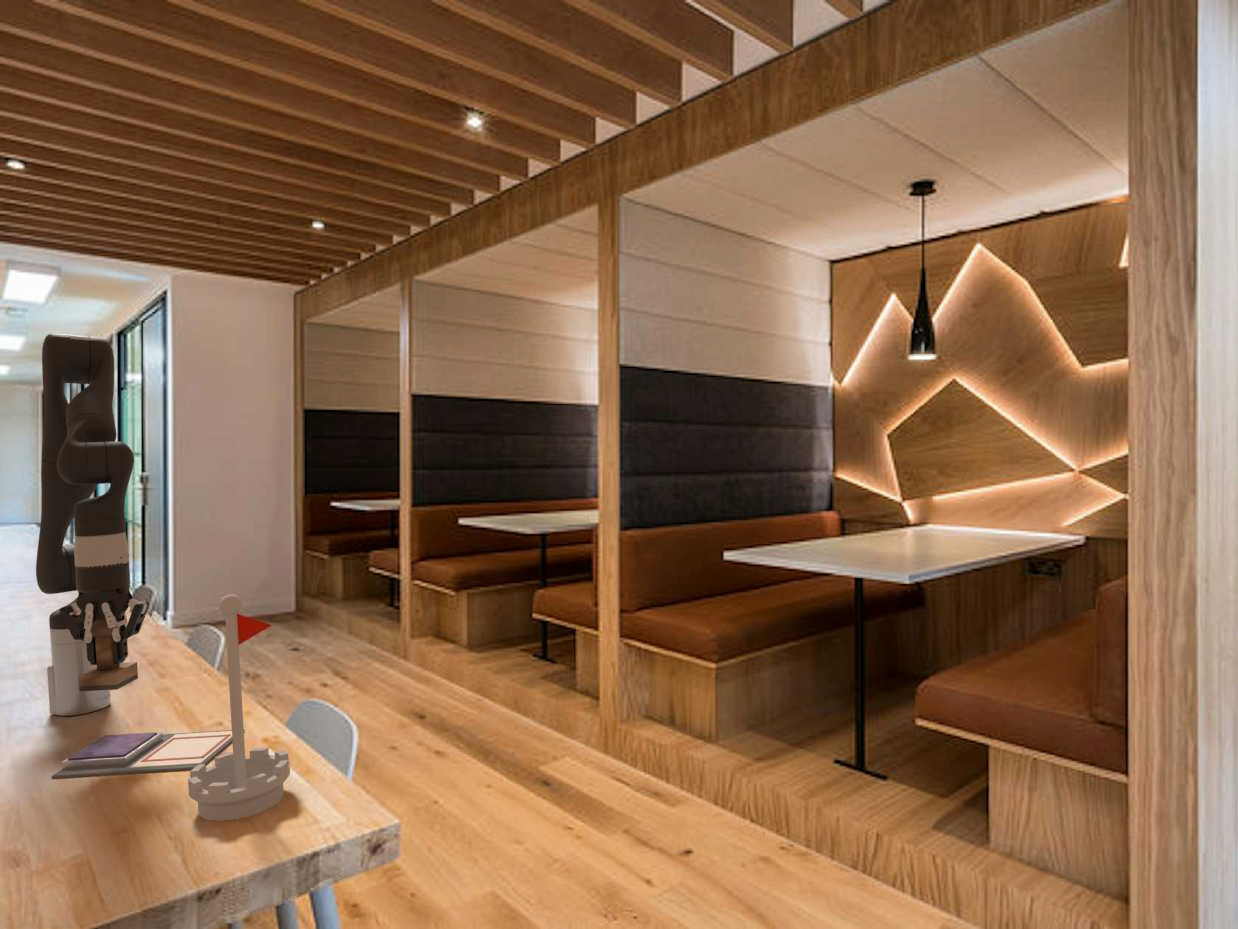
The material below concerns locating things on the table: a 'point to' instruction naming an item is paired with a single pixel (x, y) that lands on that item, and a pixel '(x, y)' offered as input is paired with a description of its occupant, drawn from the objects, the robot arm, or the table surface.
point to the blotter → (165, 755)
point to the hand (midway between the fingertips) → (108, 662)
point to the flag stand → (238, 745)
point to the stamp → (106, 663)
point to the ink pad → (112, 750)
